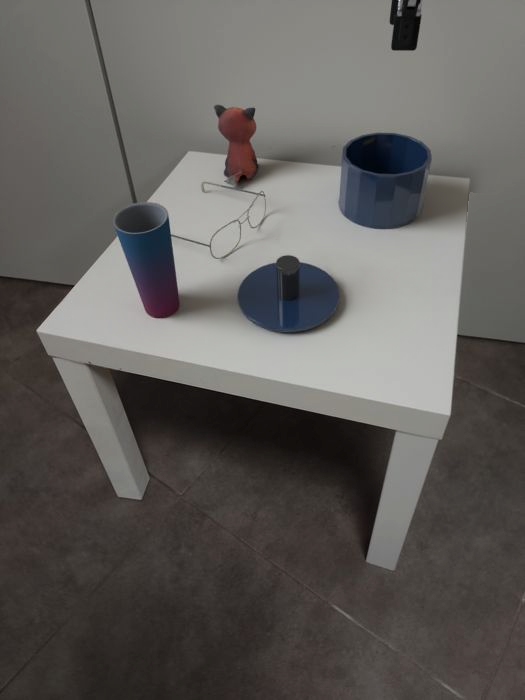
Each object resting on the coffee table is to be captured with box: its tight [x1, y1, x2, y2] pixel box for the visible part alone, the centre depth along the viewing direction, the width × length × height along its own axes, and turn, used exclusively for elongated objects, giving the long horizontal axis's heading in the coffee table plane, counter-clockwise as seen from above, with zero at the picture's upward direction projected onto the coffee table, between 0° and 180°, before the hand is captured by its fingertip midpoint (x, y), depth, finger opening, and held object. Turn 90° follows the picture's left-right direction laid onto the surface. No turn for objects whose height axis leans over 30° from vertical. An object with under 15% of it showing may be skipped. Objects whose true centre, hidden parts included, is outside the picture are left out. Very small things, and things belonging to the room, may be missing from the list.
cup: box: [112, 201, 181, 319], centre depth 72 cm, size 7×7×15 cm
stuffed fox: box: [213, 104, 259, 186], centre depth 97 cm, size 8×11×12 cm
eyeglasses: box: [171, 180, 267, 260], centre depth 89 cm, size 16×15×5 cm
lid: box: [237, 254, 340, 333], centre depth 75 cm, size 14×14×7 cm
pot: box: [338, 132, 433, 230], centre depth 89 cm, size 14×14×10 cm
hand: (402, 36), depth 73 cm, fingers open, 9 cm apart
